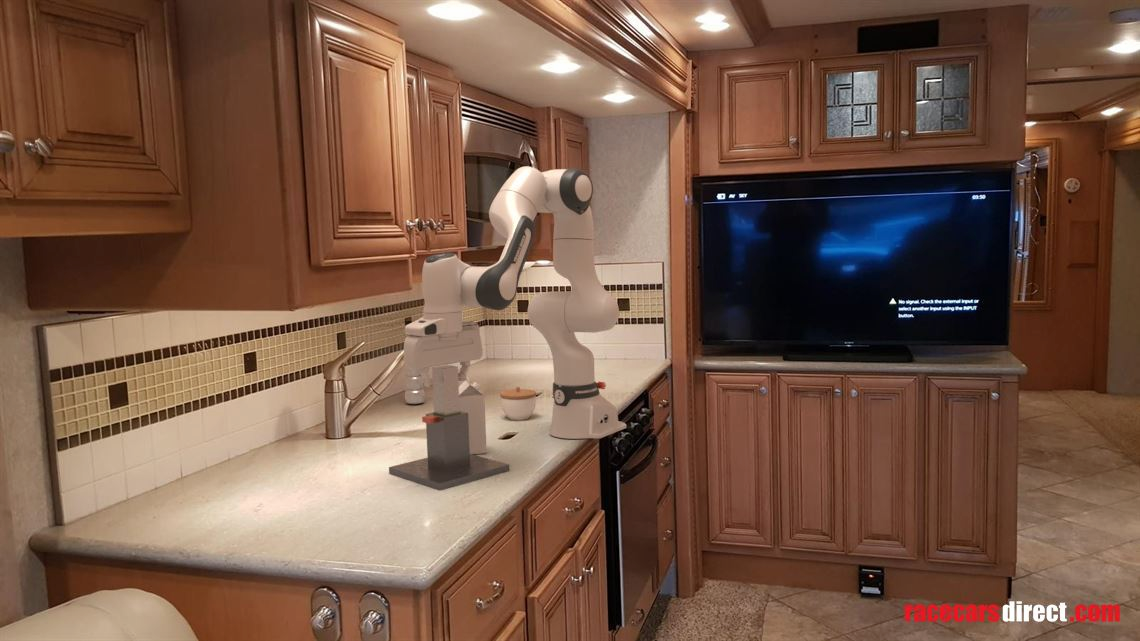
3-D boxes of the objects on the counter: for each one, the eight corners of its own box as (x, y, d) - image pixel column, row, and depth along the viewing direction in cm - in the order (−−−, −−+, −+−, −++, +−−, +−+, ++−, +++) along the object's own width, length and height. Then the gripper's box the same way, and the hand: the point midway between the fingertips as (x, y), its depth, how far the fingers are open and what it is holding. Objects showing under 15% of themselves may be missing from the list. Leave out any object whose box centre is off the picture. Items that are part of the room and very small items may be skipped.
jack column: (450, 439, 207) (446, 364, 205) (461, 442, 204) (458, 366, 202) (434, 443, 204) (431, 367, 202) (446, 446, 201) (442, 369, 199)
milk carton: (458, 456, 219) (455, 381, 217) (454, 449, 226) (451, 377, 224) (486, 453, 221) (484, 379, 219) (482, 447, 228) (479, 375, 225)
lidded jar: (544, 416, 262) (543, 385, 261) (521, 423, 254) (520, 391, 253) (516, 412, 269) (515, 382, 268) (493, 419, 260) (492, 388, 259)
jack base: (457, 456, 219) (455, 401, 217) (509, 470, 205) (507, 412, 203) (389, 473, 205) (386, 414, 204) (440, 490, 191) (437, 427, 189)
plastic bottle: (419, 401, 290) (416, 341, 288) (429, 404, 285) (426, 343, 283) (401, 403, 286) (398, 343, 284) (411, 406, 281) (408, 345, 279)
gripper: (470, 319, 211) (472, 375, 212) (398, 327, 196) (401, 388, 198) (486, 320, 206) (489, 378, 208) (414, 329, 192) (417, 391, 193)
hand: (445, 383), depth 203 cm, fingers open, 8 cm apart
